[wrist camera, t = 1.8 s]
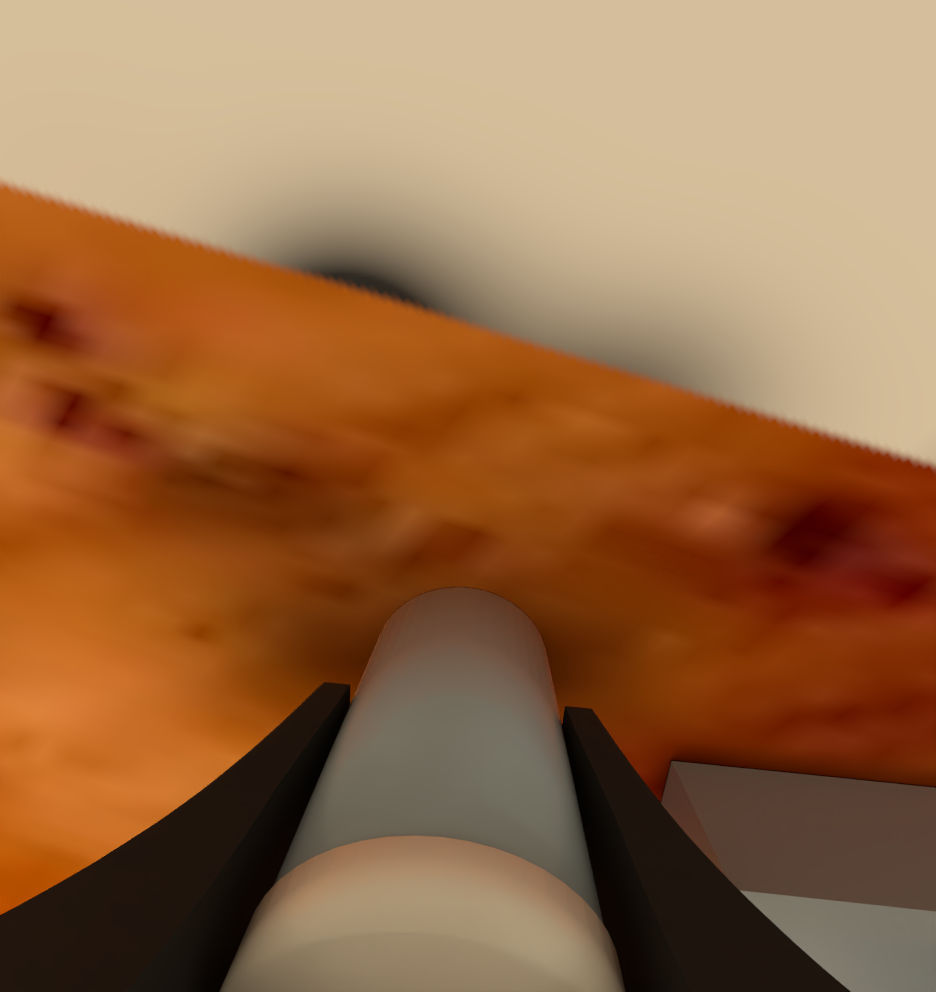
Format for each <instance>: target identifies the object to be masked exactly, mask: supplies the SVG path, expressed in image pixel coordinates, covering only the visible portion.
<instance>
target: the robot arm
mask: <svg viewBox="0 0 936 992" xmlns="http://www.w3.org/2000/svg"><path fill="white" fill-rule="evenodd" d="M349 706H350V685H346V684H336V683H326V682H325V683H323V684H322V685H321V686H320V687H319V688H317V689H316V690H315V691H314V692H313V693H312V694H311V695H310V696H309V697H308V698H307V699H306V700H305V701H304V702H303V703H302V704H301V705H300V706H299V707H298V708H297V709H296V710H295V711H294V712H292V713H291V714H290V715H289V716H288V717H287V718H286V719H285V720H284V721H283V722H282V723H281V724H280V725H279V726H277V727H276V728H275V729H274V730H273V731H272V732H271V733H270V734H269V735H267V736H266V737H265V738H264V739H263V740H262V741H261V742H260V743H259V744H257V745H256V746H255V747H254V748H253V749H252V750H251V751H249V752H248V753H247V754H246V755H245V756H243V757H242V758H241V759H240V760H239V761H237V762H236V763H235V764H234V765H232V766H231V767H230V768H229V769H228V770H226V771H225V772H224V773H223V774H222V775H220V776H219V777H218V778H217V779H215V780H214V781H213V782H212V783H210V784H209V785H208V786H206V787H205V788H204V789H203V790H201V791H200V792H199V793H197V794H196V795H195V796H193V797H192V798H191V799H189V800H188V801H187V802H185V803H184V804H182V805H181V806H180V807H178V808H177V809H175V810H174V811H173V812H171V813H170V814H168V815H167V816H166V817H164V818H163V819H161V820H160V821H158V822H157V823H155V824H154V825H152V826H151V827H149V828H148V829H146V830H145V831H143V832H142V833H140V834H138V835H137V836H135V837H134V838H132V839H131V840H129V841H127V842H126V843H124V844H123V845H121V846H120V847H118V848H116V849H115V850H113V851H112V852H110V853H109V854H107V855H106V856H104V857H102V858H101V859H99V860H98V861H96V862H94V863H93V864H91V865H89V866H88V867H86V868H84V869H82V870H81V871H79V872H77V873H76V874H74V875H72V876H70V877H69V878H67V879H65V880H64V881H62V882H60V883H58V884H57V885H55V886H53V887H51V888H49V889H48V890H46V891H44V892H42V893H40V894H39V895H37V896H35V897H33V898H31V899H30V900H28V901H26V902H24V903H22V904H21V905H19V906H17V907H15V908H13V909H11V910H9V911H7V912H6V913H4V914H2V915H0V992H220V989H221V987H222V985H223V983H224V980H225V978H226V976H227V973H228V971H229V969H230V967H231V964H232V962H233V960H234V957H235V955H236V953H237V951H238V948H239V946H240V944H241V941H242V939H243V937H244V935H245V932H246V930H247V928H248V925H249V923H250V921H251V919H252V916H253V914H254V912H255V910H256V908H257V907H258V905H259V904H260V902H261V901H262V899H263V898H264V896H265V895H266V893H267V892H268V891H269V890H270V889H271V888H272V887H273V886H274V883H275V881H276V879H277V876H278V874H279V871H280V869H281V867H282V864H283V862H284V860H285V857H286V855H287V853H288V850H289V848H290V845H291V843H292V841H293V838H294V836H295V834H296V831H297V829H298V826H299V824H300V822H301V819H302V817H303V815H304V812H305V810H306V808H307V805H308V803H309V800H310V798H311V796H312V793H313V791H314V789H315V786H316V784H317V782H318V779H319V777H320V774H321V772H322V770H323V767H324V765H325V763H326V760H327V758H328V755H329V753H330V751H331V748H332V746H333V744H334V741H335V739H336V737H337V734H338V732H339V729H340V727H341V725H342V722H343V720H344V718H345V715H346V713H347V711H348V708H349ZM562 728H563V733H564V737H565V742H566V747H567V752H568V757H569V761H570V766H571V771H572V776H573V780H574V785H575V790H576V795H577V800H578V804H579V809H580V814H581V819H582V824H583V828H584V833H585V838H586V843H587V848H588V852H589V857H590V862H591V867H592V871H593V876H594V881H595V886H596V891H597V895H598V900H599V905H600V910H601V915H602V919H603V924H604V926H605V928H606V929H607V931H608V933H609V935H610V937H611V940H612V942H613V944H614V946H615V949H616V952H617V956H618V960H619V964H620V969H621V973H622V978H623V982H624V987H625V991H626V992H851V991H849V990H848V989H847V988H846V987H845V986H844V985H842V984H841V983H840V982H839V981H838V980H837V979H835V978H834V977H833V976H832V975H831V974H829V973H828V972H827V971H826V970H825V969H824V968H822V967H821V966H820V965H819V964H818V963H817V962H816V961H814V960H813V959H812V958H811V957H810V956H809V955H808V954H807V953H805V952H804V951H803V950H802V949H801V948H800V947H799V946H798V945H796V944H795V943H794V942H793V941H792V940H791V939H790V938H789V937H788V936H787V935H786V934H785V933H783V932H782V931H781V930H780V929H779V928H778V927H777V926H776V925H775V924H774V923H773V922H772V921H771V920H770V919H769V918H768V917H767V916H765V915H764V914H763V913H762V912H761V911H760V910H759V909H758V908H757V907H756V906H755V905H754V904H753V903H752V902H751V901H750V900H749V899H748V898H747V897H746V896H745V895H744V894H743V893H742V892H741V891H740V890H739V889H738V888H737V887H736V886H735V885H734V884H733V883H732V882H731V881H730V880H729V879H728V878H727V877H726V876H725V875H724V874H723V873H722V872H721V871H720V870H719V869H718V868H717V867H716V866H715V865H714V863H713V862H712V861H711V860H710V859H709V858H708V857H707V856H706V855H705V854H704V853H703V852H702V851H701V850H700V849H699V848H698V846H697V845H696V844H695V843H694V842H693V841H692V840H691V839H690V837H689V836H688V835H687V834H686V833H685V832H684V830H683V829H682V828H681V827H680V826H679V825H678V823H677V822H676V821H675V820H674V819H673V817H672V816H671V815H670V814H669V813H668V811H667V810H666V809H665V808H664V806H663V805H662V804H661V803H660V801H659V800H658V799H657V798H656V796H655V795H654V794H653V793H652V791H651V790H650V789H649V787H648V786H647V785H646V783H645V782H644V781H643V780H642V778H641V777H640V776H639V774H638V773H637V772H636V770H635V769H634V768H633V766H632V765H631V764H630V762H629V761H628V760H627V758H626V757H625V755H624V754H623V753H622V751H621V750H620V748H619V747H618V746H617V744H616V743H615V741H614V740H613V739H612V737H611V736H610V734H609V733H608V731H607V730H606V728H605V727H604V726H603V724H602V723H601V721H600V720H599V718H598V717H597V715H596V714H595V713H594V711H593V710H592V709H588V708H578V707H568V706H565V711H564V717H563V723H562Z"/></svg>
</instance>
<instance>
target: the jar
mask: <svg viewBox="0 0 936 992" xmlns="http://www.w3.org/2000/svg"><path fill="white" fill-rule="evenodd" d="M220 992H626V991H625V987H624V982H623V978H622V973H621V969H620V964H619V960H618V956H617V952H616V949H615V946H614V944H613V942H612V940H611V937H610V935H609V933H608V931H607V929H606V928H605V926H604V924H603V919H602V915H601V910H600V905H599V900H598V895H597V891H596V886H595V881H594V876H593V871H592V867H591V862H590V857H589V852H588V848H587V843H586V838H585V833H584V828H583V824H582V819H581V814H580V809H579V804H578V800H577V795H576V790H575V785H574V780H573V776H572V771H571V766H570V761H569V757H568V752H567V747H566V742H565V737H564V733H563V728H562V723H561V718H560V713H559V709H558V704H557V699H556V694H555V689H554V685H553V680H552V675H551V670H550V666H549V661H548V656H547V652H546V647H545V644H544V642H543V639H542V636H541V634H540V633H539V631H538V629H537V628H536V626H535V625H534V623H533V622H532V621H531V619H530V618H529V617H528V616H527V615H526V614H525V613H524V612H523V611H522V610H521V609H519V608H518V607H517V606H515V605H514V604H513V603H511V602H509V601H508V600H506V599H504V598H502V597H500V596H498V595H495V594H493V593H491V592H487V591H483V590H480V589H474V588H468V587H451V588H442V589H437V590H432V591H429V592H427V593H424V594H421V595H419V596H417V597H415V598H413V599H411V600H409V601H408V602H406V603H405V604H404V605H402V606H401V607H400V608H399V609H398V610H396V611H395V612H394V613H393V614H392V616H391V617H390V618H389V619H388V620H387V622H386V624H385V625H384V627H383V628H382V630H381V633H380V635H379V637H378V640H377V642H376V644H375V647H374V649H373V651H372V654H371V656H370V658H369V661H368V663H367V666H366V668H365V670H364V673H363V675H362V677H361V680H360V682H359V685H358V687H357V689H356V692H355V694H354V696H353V699H352V701H351V703H350V706H349V708H348V711H347V713H346V715H345V718H344V720H343V722H342V725H341V727H340V729H339V732H338V734H337V737H336V739H335V741H334V744H333V746H332V748H331V751H330V753H329V755H328V758H327V760H326V763H325V765H324V767H323V770H322V772H321V774H320V777H319V779H318V782H317V784H316V786H315V789H314V791H313V793H312V796H311V798H310V800H309V803H308V805H307V808H306V810H305V812H304V815H303V817H302V819H301V822H300V824H299V826H298V829H297V831H296V834H295V836H294V838H293V841H292V843H291V845H290V848H289V850H288V853H287V855H286V857H285V860H284V862H283V864H282V867H281V869H280V871H279V874H278V876H277V879H276V881H275V883H274V886H273V887H272V888H271V889H270V890H269V891H268V892H267V893H266V895H265V896H264V898H263V899H262V901H261V902H260V904H259V905H258V907H257V908H256V910H255V912H254V914H253V916H252V919H251V921H250V923H249V925H248V928H247V930H246V932H245V935H244V937H243V939H242V941H241V944H240V946H239V948H238V951H237V953H236V955H235V957H234V960H233V962H232V964H231V967H230V969H229V971H228V973H227V976H226V978H225V980H224V983H223V985H222V987H221V989H220Z"/></svg>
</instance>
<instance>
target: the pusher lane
mask: <svg viewBox="0 0 936 992" xmlns="http://www.w3.org/2000/svg"><path fill="white" fill-rule="evenodd" d="M661 804H662V805H663V806H664V808H665V809H666V810H667V811H668V813H669V814H670V815H671V816H672V817H673V819H674V820H675V821H676V822H677V823H678V825H679V826H680V827H681V828H682V829H683V830H684V832H685V833H686V834H687V835H688V836H689V837H690V839H691V840H692V841H693V842H694V843H695V844H696V845H697V846H698V848H699V849H700V850H701V851H702V852H703V853H704V854H705V855H706V856H707V857H708V858H709V859H710V860H711V861H712V862H713V863H714V865H715V866H716V867H717V868H718V869H719V870H720V871H721V872H722V873H723V874H724V875H725V876H726V877H727V878H728V879H729V880H730V881H731V882H732V883H733V884H734V885H735V886H736V887H737V888H738V889H739V890H740V891H741V892H742V893H743V894H744V895H745V896H746V897H747V898H748V899H749V900H750V901H751V902H752V903H753V904H754V905H755V906H756V907H757V908H758V909H759V910H760V911H761V912H762V913H763V914H764V915H765V916H767V917H768V918H769V919H770V920H771V921H772V922H773V923H774V924H775V925H776V926H777V927H778V928H779V929H780V930H781V931H782V932H783V933H785V934H786V935H787V936H788V937H789V938H790V939H791V940H792V941H793V942H794V943H795V944H796V945H798V946H799V947H800V948H801V949H802V950H803V951H804V952H805V953H807V954H808V955H809V956H810V957H811V958H812V959H813V960H814V961H816V962H817V963H818V964H819V965H820V966H821V967H822V968H824V969H825V970H826V971H827V972H828V973H829V974H831V975H832V976H833V977H834V978H835V979H837V980H838V981H839V982H840V983H841V984H842V985H844V986H845V987H846V988H847V989H848V990H849V991H851V992H936V788H934V787H924V786H914V785H905V784H895V783H885V782H875V781H865V780H855V779H846V778H836V777H826V776H816V775H806V774H796V773H786V772H777V771H767V770H757V769H747V768H737V767H727V766H718V765H708V764H698V763H688V762H678V761H671V764H670V769H669V773H668V777H667V781H666V785H665V789H664V793H663V797H662V801H661Z"/></svg>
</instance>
